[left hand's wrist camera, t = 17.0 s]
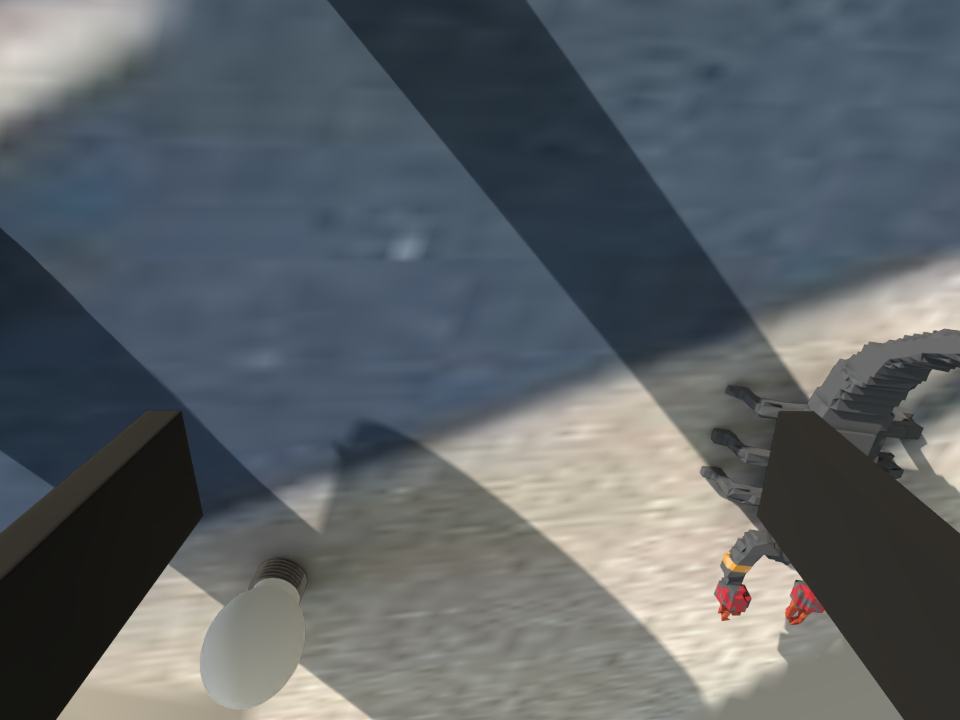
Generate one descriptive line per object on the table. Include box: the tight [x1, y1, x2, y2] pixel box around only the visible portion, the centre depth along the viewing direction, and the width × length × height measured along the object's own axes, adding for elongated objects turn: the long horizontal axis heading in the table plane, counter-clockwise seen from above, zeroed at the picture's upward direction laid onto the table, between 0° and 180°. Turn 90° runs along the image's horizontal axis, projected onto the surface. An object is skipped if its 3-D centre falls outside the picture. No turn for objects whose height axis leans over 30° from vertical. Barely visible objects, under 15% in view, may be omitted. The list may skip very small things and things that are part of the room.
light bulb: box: [200, 559, 307, 709], centre depth 42 cm, size 7×7×11 cm
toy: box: [700, 329, 960, 625], centre depth 35 cm, size 13×27×18 cm, turn 172°
